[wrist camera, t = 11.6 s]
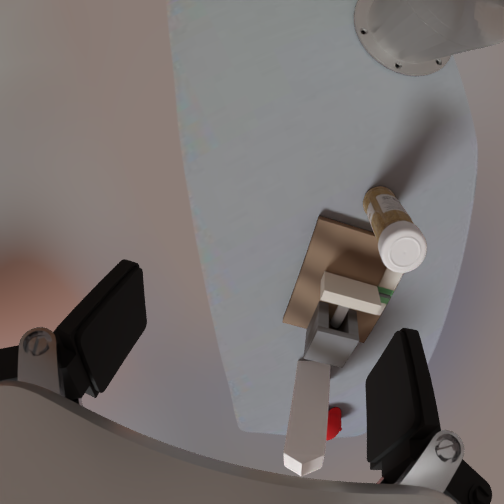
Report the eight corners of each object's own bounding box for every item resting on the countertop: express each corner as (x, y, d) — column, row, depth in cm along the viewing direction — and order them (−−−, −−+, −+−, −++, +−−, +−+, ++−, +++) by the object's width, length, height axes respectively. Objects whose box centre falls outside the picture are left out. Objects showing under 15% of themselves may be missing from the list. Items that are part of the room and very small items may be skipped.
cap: (333, 437, 59) (347, 440, 53) (310, 440, 57) (323, 444, 52) (334, 405, 62) (348, 406, 57) (311, 407, 61) (323, 408, 55)
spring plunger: (324, 271, 40) (324, 290, 37) (391, 290, 40) (397, 310, 36) (309, 307, 44) (308, 327, 40) (372, 324, 43) (375, 344, 39)
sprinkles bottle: (355, 206, 37) (370, 258, 25) (375, 178, 35) (402, 219, 23) (383, 225, 37) (406, 282, 26) (403, 198, 35) (437, 246, 23)
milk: (297, 379, 55) (279, 482, 36) (297, 359, 52) (278, 471, 33) (329, 380, 53) (319, 485, 35) (331, 360, 51) (322, 474, 32)
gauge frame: (318, 215, 39) (318, 241, 32) (412, 245, 38) (428, 275, 31) (283, 317, 48) (276, 351, 41) (363, 337, 47) (366, 372, 40)
